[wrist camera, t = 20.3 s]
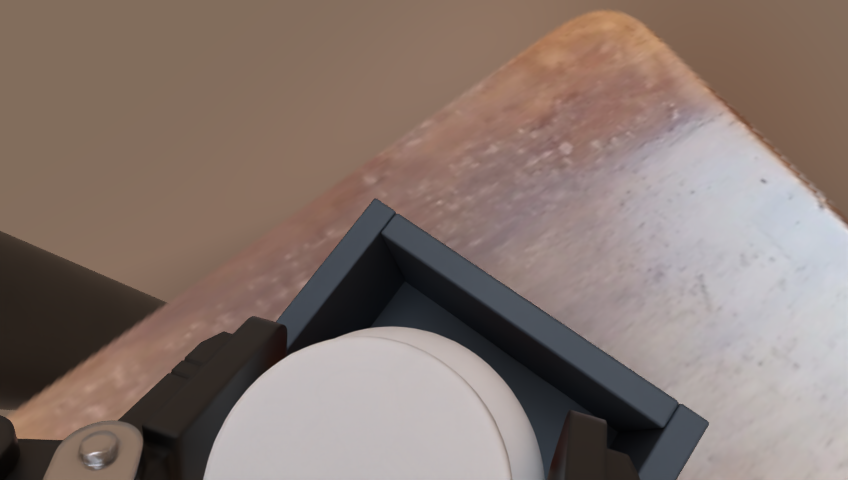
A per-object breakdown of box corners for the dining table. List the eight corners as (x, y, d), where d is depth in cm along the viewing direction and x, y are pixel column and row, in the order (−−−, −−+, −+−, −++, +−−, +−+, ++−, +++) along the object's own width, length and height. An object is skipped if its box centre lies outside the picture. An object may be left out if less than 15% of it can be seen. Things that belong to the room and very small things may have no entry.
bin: (225, 491, 21) (122, 511, 15) (404, 259, 23) (374, 197, 17) (467, 717, 18) (457, 850, 12) (646, 427, 20) (710, 422, 14)
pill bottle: (334, 371, 20) (171, 293, 10) (515, 364, 20) (545, 273, 9) (329, 576, 18) (116, 752, 8) (531, 574, 18) (593, 761, 7)
